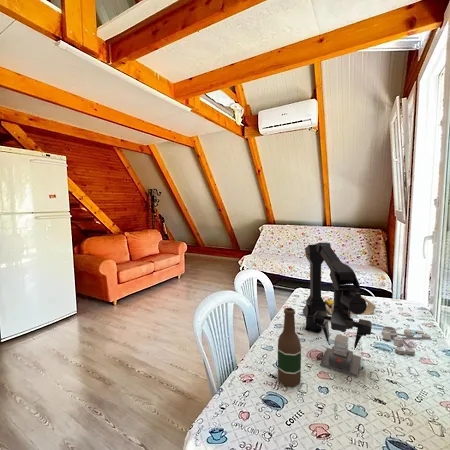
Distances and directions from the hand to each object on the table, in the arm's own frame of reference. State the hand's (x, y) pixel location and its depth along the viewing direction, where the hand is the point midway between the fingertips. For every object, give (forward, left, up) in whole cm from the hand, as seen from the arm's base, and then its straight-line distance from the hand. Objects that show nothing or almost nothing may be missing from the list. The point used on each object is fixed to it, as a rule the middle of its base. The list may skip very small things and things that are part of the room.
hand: (341, 344), depth 95 cm
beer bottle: (-13, -19, -7) cm, 24 cm away
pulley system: (+19, +31, -8) cm, 37 cm away
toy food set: (-7, +55, -8) cm, 56 cm away
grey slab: (0, 0, -6) cm, 6 cm away
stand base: (0, 0, -7) cm, 7 cm away
